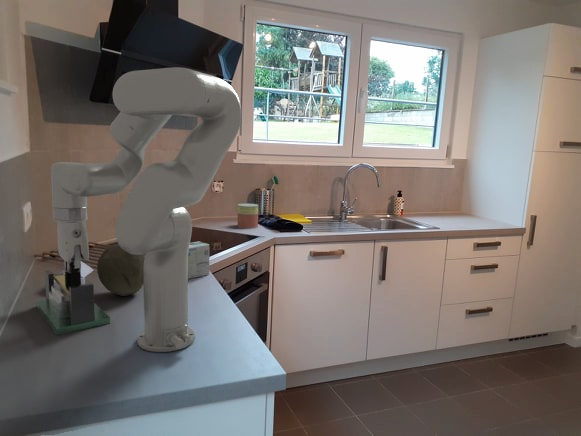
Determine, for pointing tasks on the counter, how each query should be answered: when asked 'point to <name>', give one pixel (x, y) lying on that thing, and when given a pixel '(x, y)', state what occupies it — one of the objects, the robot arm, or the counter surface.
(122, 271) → the cantaloupe
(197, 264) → the light bulb box
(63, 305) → the cooling block
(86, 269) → the wedge on round base
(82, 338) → the counter surface
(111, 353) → the counter surface
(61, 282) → the retention strap
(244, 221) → the canned food
